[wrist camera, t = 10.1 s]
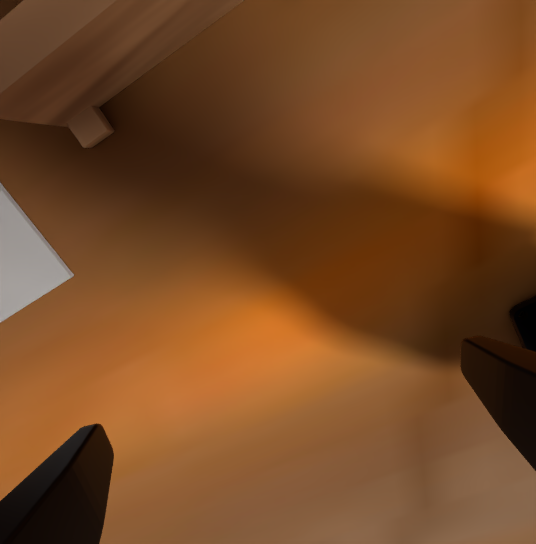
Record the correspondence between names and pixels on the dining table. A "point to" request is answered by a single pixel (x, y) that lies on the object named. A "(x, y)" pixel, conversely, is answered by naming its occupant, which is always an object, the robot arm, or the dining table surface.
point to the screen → (89, 55)
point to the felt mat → (24, 260)
